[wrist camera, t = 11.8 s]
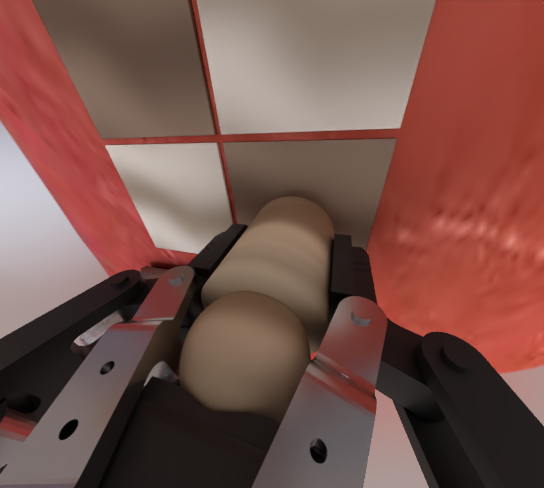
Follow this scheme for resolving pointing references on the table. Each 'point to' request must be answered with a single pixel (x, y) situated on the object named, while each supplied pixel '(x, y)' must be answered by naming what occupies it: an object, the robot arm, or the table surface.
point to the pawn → (262, 313)
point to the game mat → (243, 102)
